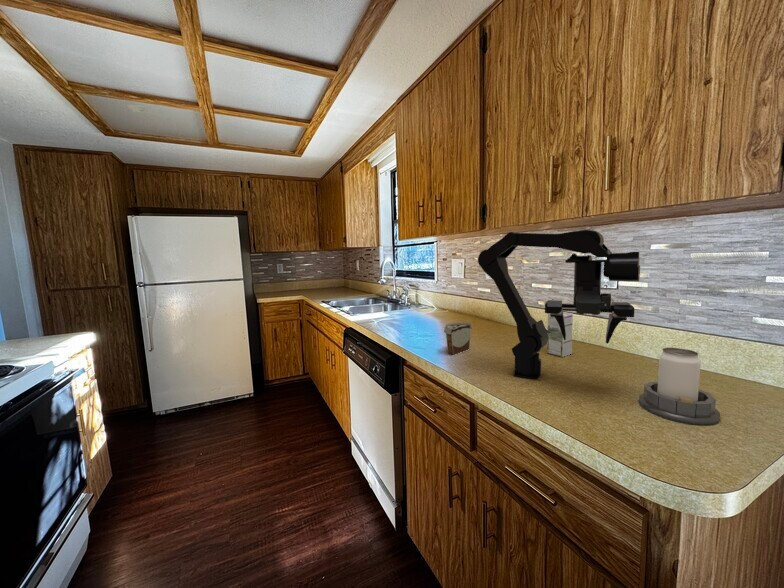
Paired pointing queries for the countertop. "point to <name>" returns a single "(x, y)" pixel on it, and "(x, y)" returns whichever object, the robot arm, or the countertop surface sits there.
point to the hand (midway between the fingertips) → (585, 341)
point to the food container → (458, 337)
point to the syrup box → (560, 336)
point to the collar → (680, 406)
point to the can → (679, 373)
